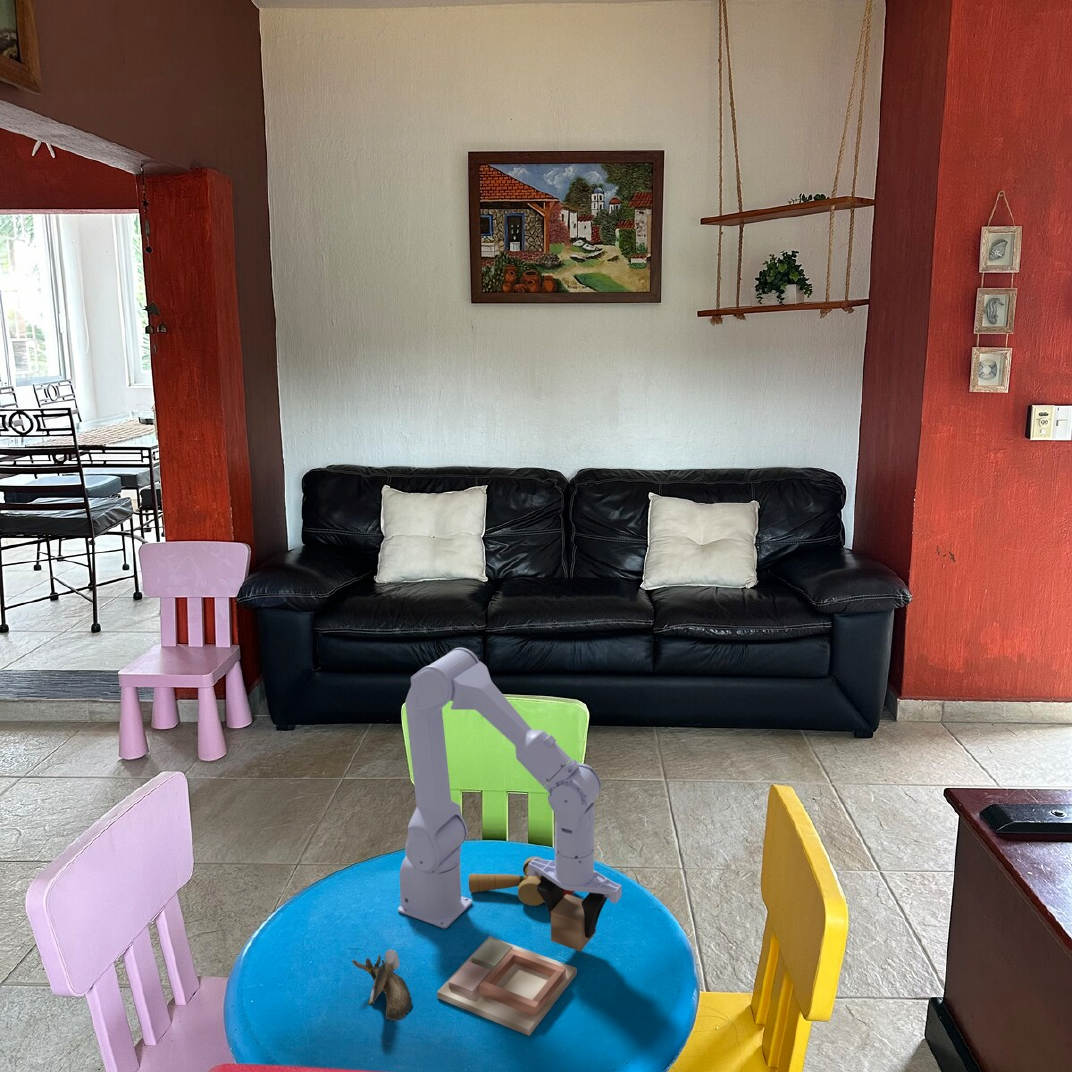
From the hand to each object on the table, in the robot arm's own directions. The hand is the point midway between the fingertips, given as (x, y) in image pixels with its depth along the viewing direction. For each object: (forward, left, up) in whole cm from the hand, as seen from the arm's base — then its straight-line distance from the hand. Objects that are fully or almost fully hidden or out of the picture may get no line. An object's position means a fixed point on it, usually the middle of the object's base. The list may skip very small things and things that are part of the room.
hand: (573, 928), depth 146 cm
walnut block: (0, 0, -2) cm, 2 cm away
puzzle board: (-5, -11, -4) cm, 13 cm away
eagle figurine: (-19, -22, -5) cm, 29 cm away
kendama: (-14, +9, -5) cm, 17 cm away
